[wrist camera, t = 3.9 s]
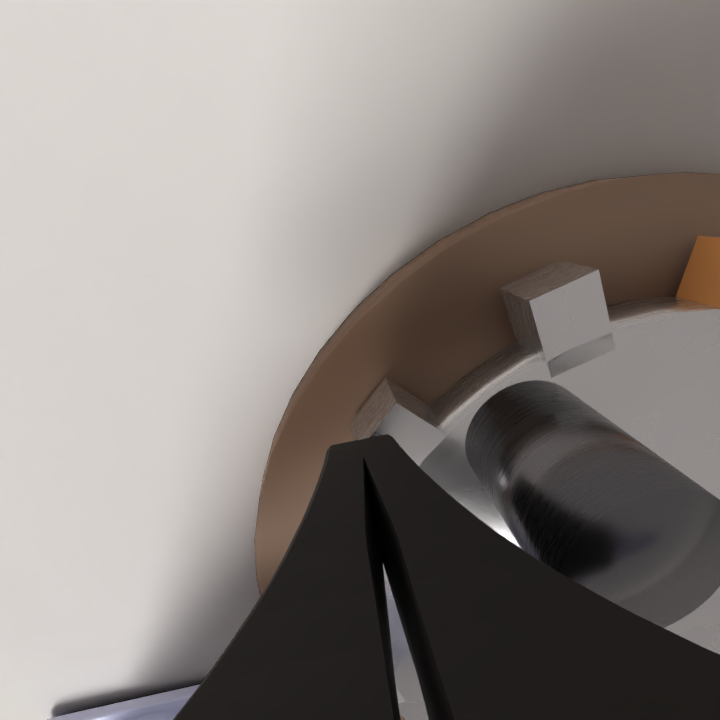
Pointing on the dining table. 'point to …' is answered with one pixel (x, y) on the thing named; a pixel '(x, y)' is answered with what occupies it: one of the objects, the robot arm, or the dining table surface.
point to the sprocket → (585, 445)
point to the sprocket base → (474, 314)
